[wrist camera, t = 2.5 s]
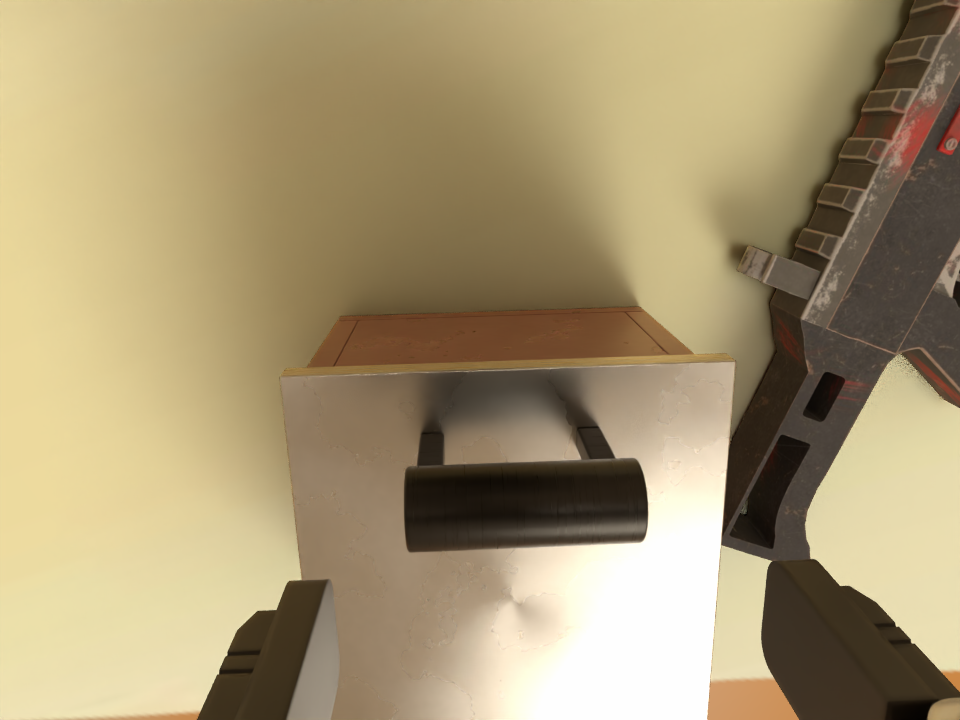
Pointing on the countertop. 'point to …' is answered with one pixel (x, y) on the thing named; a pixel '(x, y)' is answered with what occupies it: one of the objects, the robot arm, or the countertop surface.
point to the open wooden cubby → (495, 337)
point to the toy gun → (858, 289)
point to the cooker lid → (515, 532)
